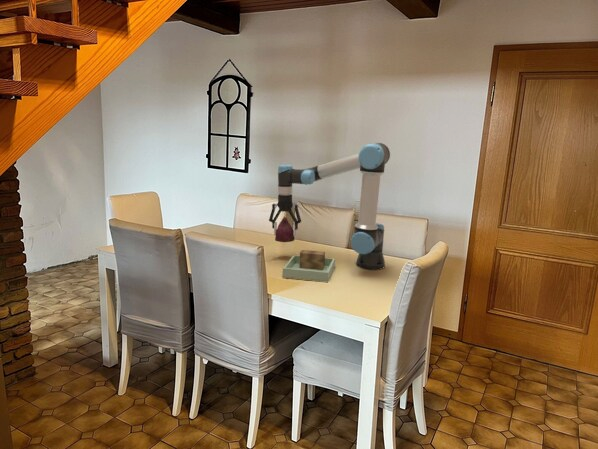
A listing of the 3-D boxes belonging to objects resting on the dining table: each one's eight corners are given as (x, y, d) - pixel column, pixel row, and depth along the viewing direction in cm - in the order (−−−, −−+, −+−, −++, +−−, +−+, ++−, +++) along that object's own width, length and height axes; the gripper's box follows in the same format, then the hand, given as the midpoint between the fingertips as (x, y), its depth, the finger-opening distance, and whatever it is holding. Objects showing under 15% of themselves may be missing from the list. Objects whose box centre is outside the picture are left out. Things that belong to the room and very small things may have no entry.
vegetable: (291, 248, 245) (293, 223, 238) (272, 244, 247) (274, 219, 240) (296, 239, 254) (298, 214, 247) (278, 235, 256) (279, 211, 249)
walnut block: (324, 266, 239) (325, 251, 237) (322, 270, 233) (323, 254, 232) (301, 264, 241) (302, 249, 240) (299, 267, 236) (300, 252, 234)
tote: (334, 267, 240) (335, 258, 239) (327, 282, 217) (328, 272, 216) (293, 264, 244) (293, 254, 243) (282, 278, 221) (282, 268, 220)
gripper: (307, 194, 246) (306, 234, 251) (266, 192, 250) (266, 232, 255) (304, 195, 239) (304, 237, 243) (262, 194, 243) (262, 235, 248)
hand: (285, 235), depth 249 cm, fingers closed on vegetable, 10 cm apart
